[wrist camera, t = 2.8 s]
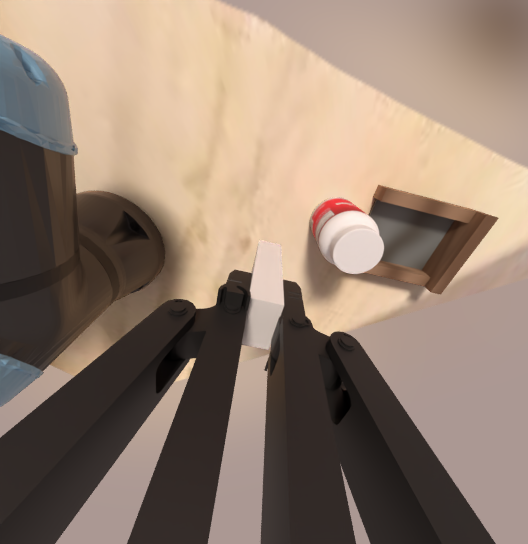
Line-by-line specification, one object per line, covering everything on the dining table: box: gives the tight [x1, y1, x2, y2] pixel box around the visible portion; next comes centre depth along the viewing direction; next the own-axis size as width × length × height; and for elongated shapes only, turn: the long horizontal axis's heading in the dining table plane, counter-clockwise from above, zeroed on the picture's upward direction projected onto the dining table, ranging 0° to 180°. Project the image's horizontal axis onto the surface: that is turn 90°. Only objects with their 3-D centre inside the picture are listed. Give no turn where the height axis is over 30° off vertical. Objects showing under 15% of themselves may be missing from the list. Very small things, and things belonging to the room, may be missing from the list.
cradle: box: [364, 185, 498, 294], centre depth 30 cm, size 13×11×4 cm
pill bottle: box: [310, 197, 384, 274], centre depth 26 cm, size 6×6×11 cm
